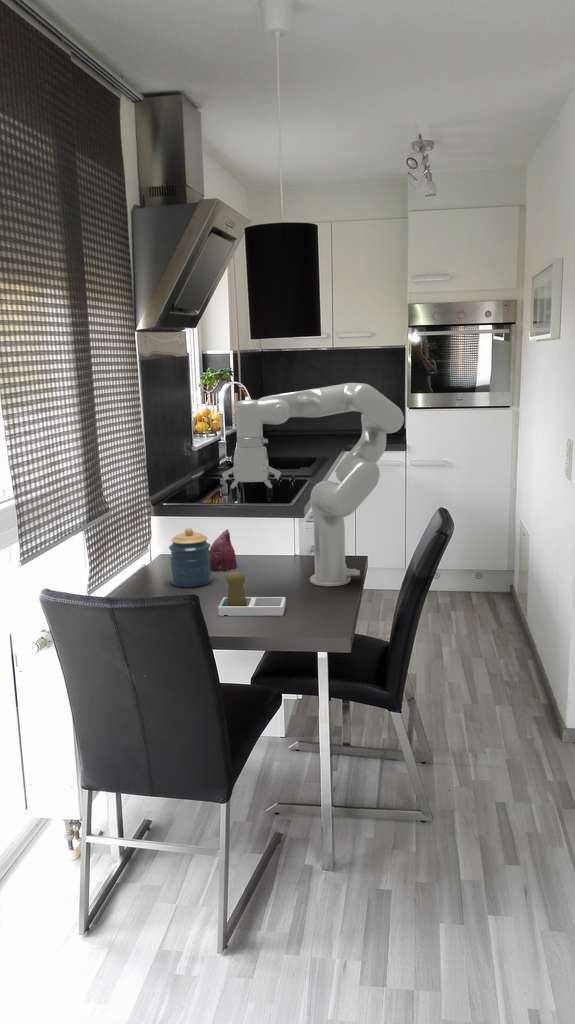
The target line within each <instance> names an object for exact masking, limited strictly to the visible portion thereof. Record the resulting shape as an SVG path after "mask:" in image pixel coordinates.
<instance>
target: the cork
mask: <svg viewBox="0 0 575 1024" xmlns="http://www.w3.org/2000/svg"><path fill="white" fill-rule="evenodd" d="M225 579H226V583H227V585H228V588H227V596H226V597H227V606H247V603H246V597H247V596H246V593H245V587H244V584H245V580H246V576H245V574H244V573H242V572H240V571H233V572H229V573H227V575H226V578H225Z"/></svg>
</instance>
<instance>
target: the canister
mask: <svg viewBox="0 0 575 1024" xmlns="http://www.w3.org/2000/svg"><path fill="white" fill-rule="evenodd" d="M170 540H171V543H172V544H170V545H169V547H168V549H169V550H170V556H169V561H170V580H171V585H173V586H175V587H180V588H196V587H197V588H198V587H202V586H206V585H209V584H210V583H211V582H212V578H213V573H212V571H211V559H210V557H211V554H210V553H209V550H210V548H211V544H210V543H209V542H208V541H207V540H208V537H207V536H206V535H204V534H203V533H201V532H194V530H193V529H192V528H191V527H187V528H185V530H184V532H181V533H178V534H176V535H175V536H174V537H172V538H171V539H170Z"/></svg>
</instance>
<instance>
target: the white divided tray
mask: <svg viewBox="0 0 575 1024" xmlns="http://www.w3.org/2000/svg"><path fill="white" fill-rule="evenodd" d="M227 597H228V596H226V597H225V596H224V597H222V599H221V600H220V603H219V605H218V606H217V609H218V610H217V611H218V614H217V615H219V616H218V617H225V616H224V615H228V616H227V617H262V616H263V617H264V616H265V617H267V616H268V617H282V616H284V614H285V609H286V607H287V599H286V597H285V596H262V597H261V596H248V597H247V596H245V597H246V603H247V606H227Z"/></svg>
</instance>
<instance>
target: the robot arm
mask: <svg viewBox="0 0 575 1024" xmlns="http://www.w3.org/2000/svg"><path fill="white" fill-rule="evenodd" d="M349 412H358V413H359V412H360V413H361V417H360V419H361V429H362V431H361V436H360V438H359V440H358V441H357V443H356V444H355V445H354V446H353V447H352V448H351V450H350V451H349V452H348V453H347V454H346V455H345V457H343V459H342V460H341V461H340V462H339V463H338V465H337V467H336V470H335V475H336V478H337V481H339V482H340V483H338V482H335V481H331V480H323V481H319V482H318V483H316V484H315V485H314V486H313V488H312V490H311V491H310V506H311V510H312V511H311V512H312V519H313V547H314V549H313V551H314V574H313V575H311V576H310V577H309V582H310V583H311V584H313V585H315V586H319V587H320V586H321V587H338V586H339V587H340V586H343V585H347V584H348V583H350V582H351V577H360V576H361V573H360V572H361V570H360V569H356V568H348V567H347V564H346V538H345V537H346V534H345V533H346V531H345V530H346V529H345V528H346V527H345V526H346V525H345V519H344V517H345V518H346V517H348V516H350V515H351V514H352V513H355V511H356V510H357V509H358V508H359V506H361V504H362V503H363V502H364V501H365V500H366V499H367V497H368V496H369V495H371V493H372V492H373V491H374V489H375V488H376V487H377V484H378V483H379V480H380V477H381V476H380V474H381V473H380V472H381V471H380V468H379V466H378V465H377V462H378V461H379V460H380V459H381V457H382V456H383V455H384V452H385V451H386V446H387V434H393V433H396V432H398V431H400V430H401V428H402V427H403V425H404V421H405V418H404V413H403V411H402V410H401V407H399V406H398V405H396V404H395V403H394V402H393V401H391V400H390V398H387V396H385V395H384V394H382V393H381V392H380V391H378V389H376V388H374V387H373V386H371V385H370V384H367V383H362V382H347V383H340V384H336V385H329V386H323V387H318V388H311V389H310V388H309V389H304V390H299V391H294V392H293V391H292V392H285V393H278V394H272V395H267V396H263V397H261V398H258V399H244V400H243V399H242V400H238V401H237V402H236V404H235V422H236V445H237V447H235V449H234V455H233V466H232V467H231V468H229V469H228V470H226V471H224V472H222V473H221V476H222V479H223V480H224V482H225V484H227V486H229V487H230V489H231V498H232V499H233V501H234V503H236V502H238V500H239V490H238V486H237V485H238V484H239V483H264V484H265V485H266V486H267V487H266V501H267V502H270V501H271V499H273V487H274V485H275V484H276V483H277V482H278V481H279V478H280V476H281V474H282V472H281V471H279V470H278V469H277V468H276V469H275V468H273V467H272V466H270V465H269V456H268V452H267V446H264V445H265V444H268V443H269V439H268V438H265V437H264V436H263V435H264V434H263V432H264V431H263V425H265V424H266V425H281V424H284V423H286V422H287V420H289V419H290V418H321V417H325V416H326V417H328V416H331V415H336V414H343V413H349ZM270 473H271V474H272V475H274V477H273V479H272V480H270V479H269V478H270ZM230 474H233V481H232V479H230V477H229V475H230Z"/></svg>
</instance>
